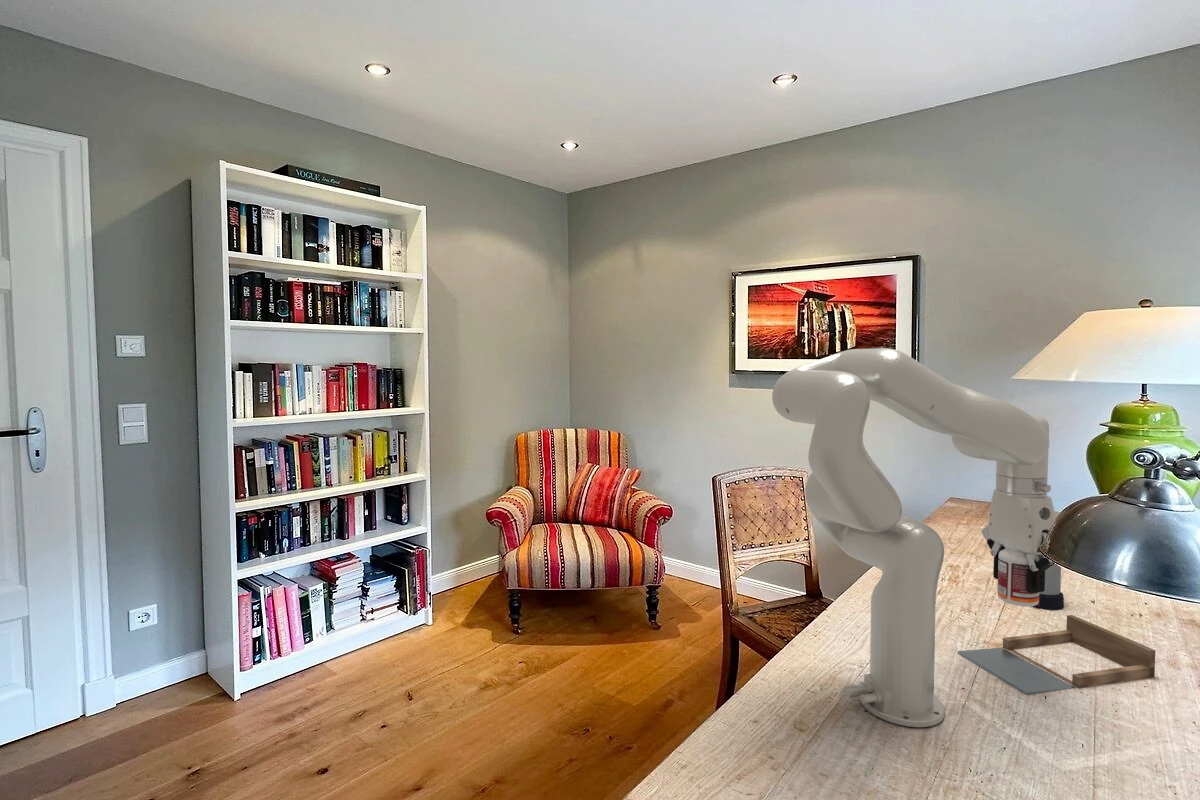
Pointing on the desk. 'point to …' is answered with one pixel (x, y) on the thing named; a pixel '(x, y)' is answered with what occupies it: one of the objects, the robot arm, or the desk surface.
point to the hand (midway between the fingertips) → (1018, 583)
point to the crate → (1099, 641)
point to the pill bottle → (1014, 577)
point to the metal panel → (1015, 671)
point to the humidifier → (1051, 590)
